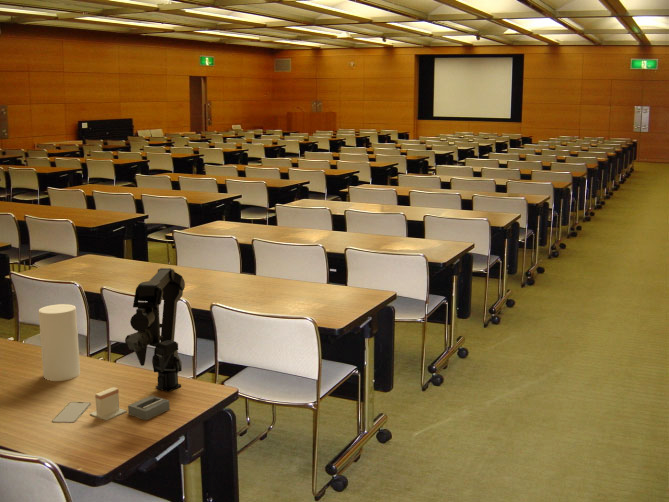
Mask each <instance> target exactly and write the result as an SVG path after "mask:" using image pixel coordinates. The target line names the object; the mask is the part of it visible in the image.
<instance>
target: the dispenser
mask: <svg viewBox="0 0 669 502" xmlns="http://www.w3.org/2000/svg"><path fill="white" fill-rule="evenodd" d="M170 407H171V406H170V400H169V399H165V398H163V397H158V396H156V395H153V394H152V395H149V396H147V397H144V398H142V399H140V400H137V401H135V402H132V403H131V404H128V405H127V411H128V412H127V414H128V415H130V416H132V417H135V418H138V419H141V420H144V421H147V420H150V419H152V418H154V417H157V416H159V415H160V414H163V413H165V412H168V411H170V409H171V408H170Z"/></svg>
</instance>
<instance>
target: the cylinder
mask: <svg viewBox="0 0 669 502" xmlns="http://www.w3.org/2000/svg"><path fill="white" fill-rule="evenodd" d="M38 322H39V333H40V336H39V337H40V346H41V347H40V348H41V360H42V373H43V379H44V378H45V379H44V380H46V379H47V380H46V381H49V380H50V382H62V381H69V380H73V379H75V378H77V377H78V376H79V375H80V374H81V364H80V362H81V361H80V349H79V335H78V334H79V333H78V318H77V308H76V306H75V305H74V304H67V303H58V304H51V305H46V306H42V307H41V308H39V309H38Z"/></svg>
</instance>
